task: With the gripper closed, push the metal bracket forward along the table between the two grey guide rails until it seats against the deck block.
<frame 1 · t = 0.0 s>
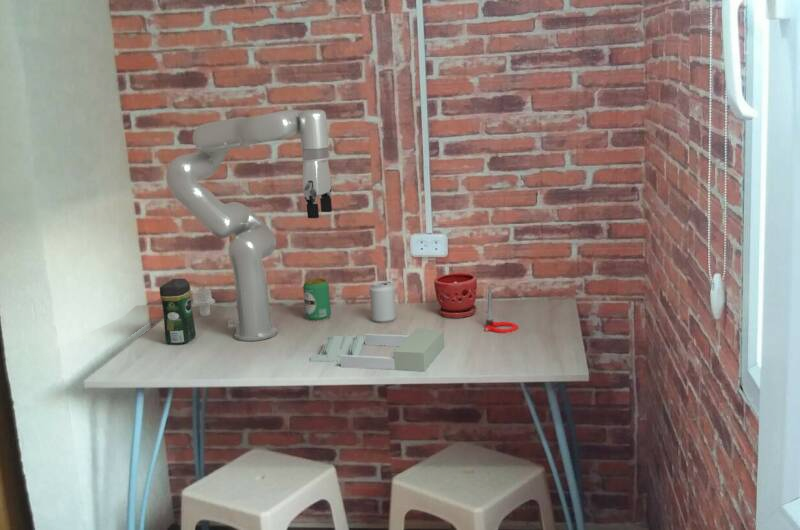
hand: (320, 214, 258), 37 cm above the table, tool pointing down, fingers open, 9 cm apart
pipe fitting: (205, 315, 300), on the table
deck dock: (383, 356, 247), on the table
tow hook: (502, 329, 266), on the table
metal bracket: (342, 356, 251), on the table
coffee jar: (180, 341, 272), on the table
beverage can: (318, 318, 288), on the table
can: (384, 320, 281), on the table
plant pot: (456, 315, 283), on the table
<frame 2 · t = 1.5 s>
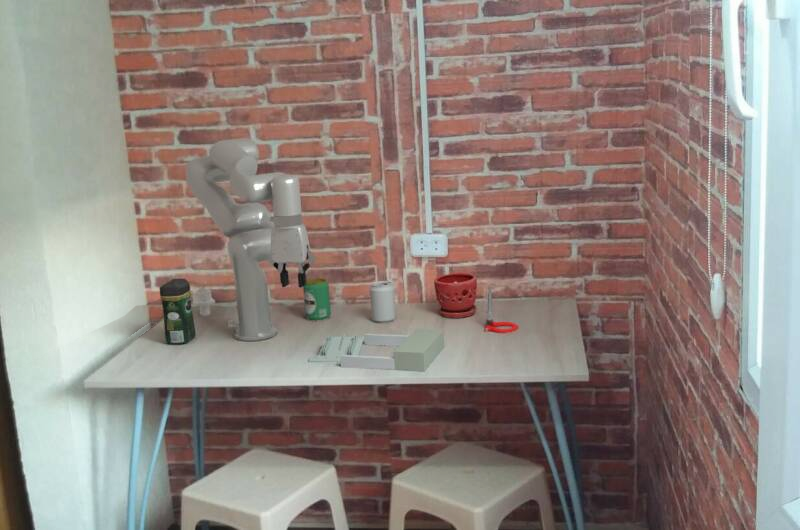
hand: (293, 285, 251), 19 cm above the table, tool pointing down, fingers open, 4 cm apart
nothing on the table moved.
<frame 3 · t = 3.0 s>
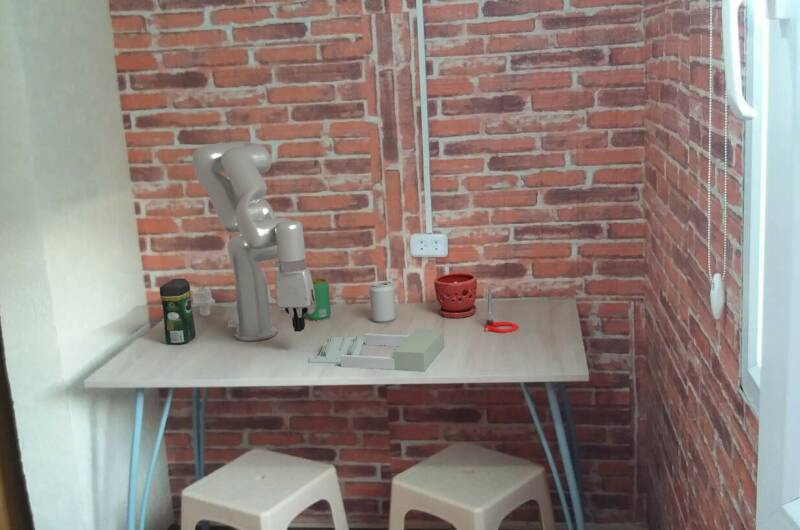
hand: (299, 330, 253), 7 cm above the table, tool pointing down, fingers closed
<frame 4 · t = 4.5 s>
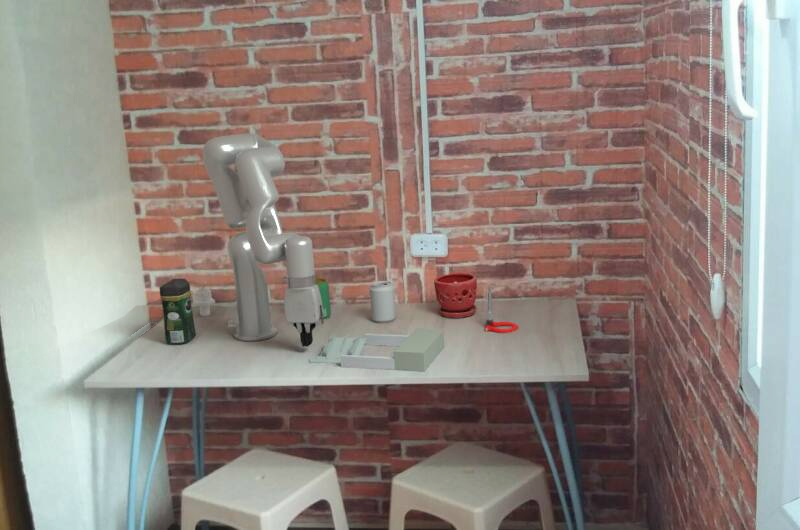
hand: (307, 344, 254), 2 cm above the table, tool pointing down, fingers closed
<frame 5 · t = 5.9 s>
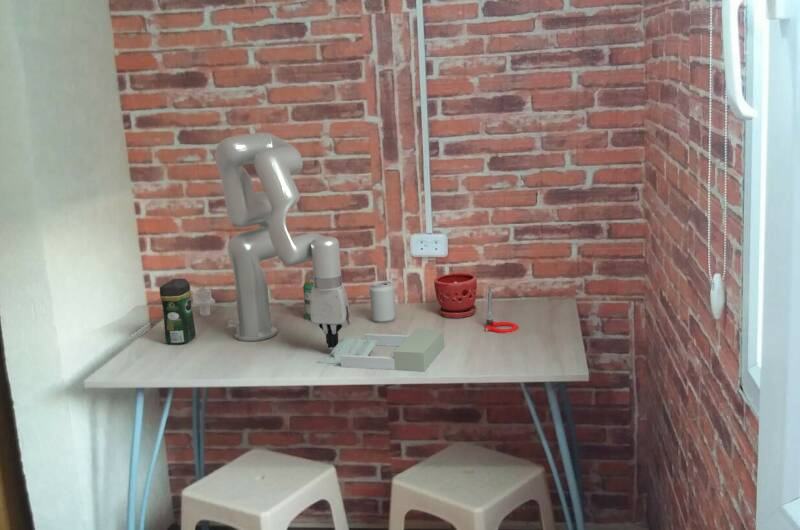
hand: (332, 346, 251), 2 cm above the table, tool pointing down, fingers closed
metal bracket: (351, 360, 248), on the table, touching gripper
everything else where it was.
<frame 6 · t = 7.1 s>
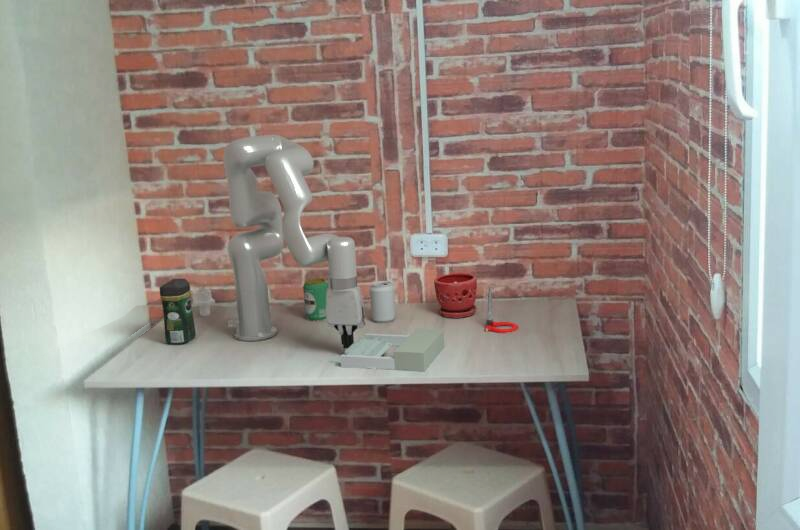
hand: (348, 347, 250), 2 cm above the table, tool pointing down, fingers closed
metal bracket: (365, 361, 246), on the table, touching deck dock
everything else where it was.
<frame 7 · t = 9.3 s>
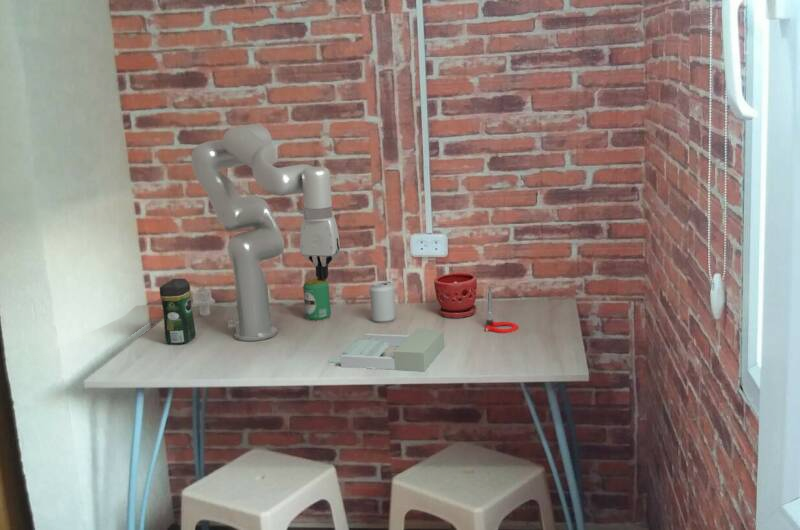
hand: (322, 279, 248), 21 cm above the table, tool pointing down, fingers closed
nothing on the table moved.
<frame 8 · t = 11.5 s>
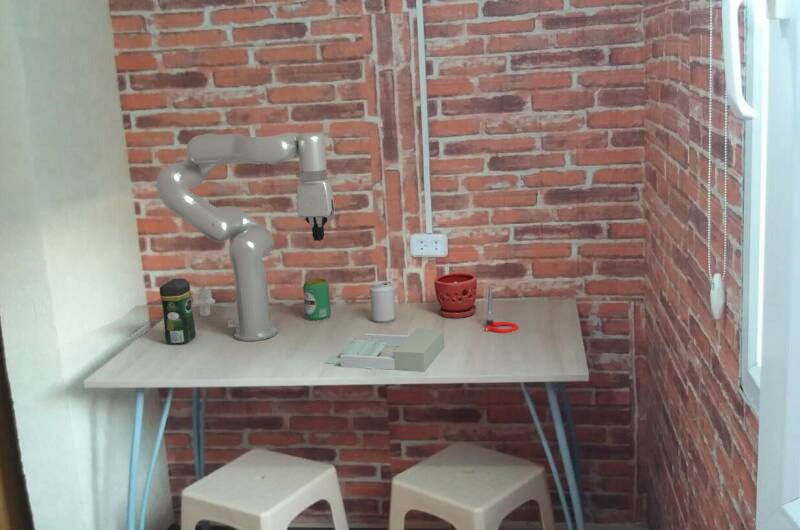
hand: (318, 239, 262), 29 cm above the table, tool pointing down, fingers closed
metal bracket: (360, 361, 246), on the table
everything else where it was.
at the end: metal bracket inside the target area (5.3 cm from its centre), on the table; metal bracket moved 7.2 cm from its start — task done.
